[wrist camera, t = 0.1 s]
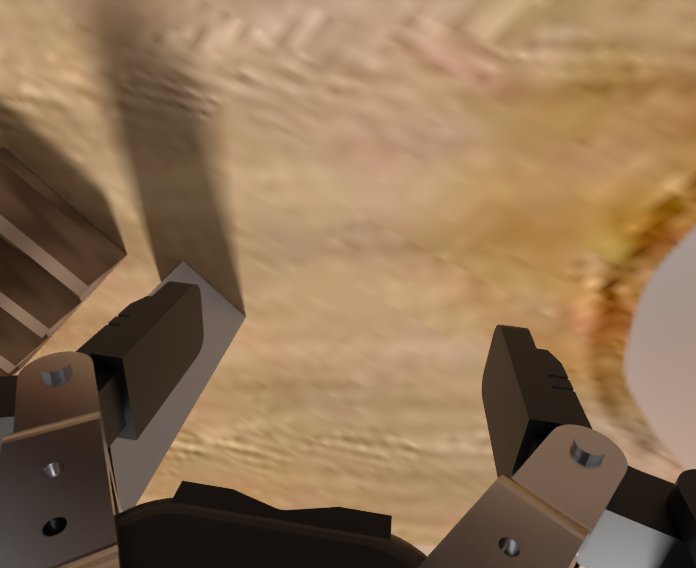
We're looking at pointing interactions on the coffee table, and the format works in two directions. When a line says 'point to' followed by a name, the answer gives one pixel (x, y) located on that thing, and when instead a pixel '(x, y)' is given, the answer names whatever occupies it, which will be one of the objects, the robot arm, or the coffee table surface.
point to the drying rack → (42, 262)
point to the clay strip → (175, 392)
